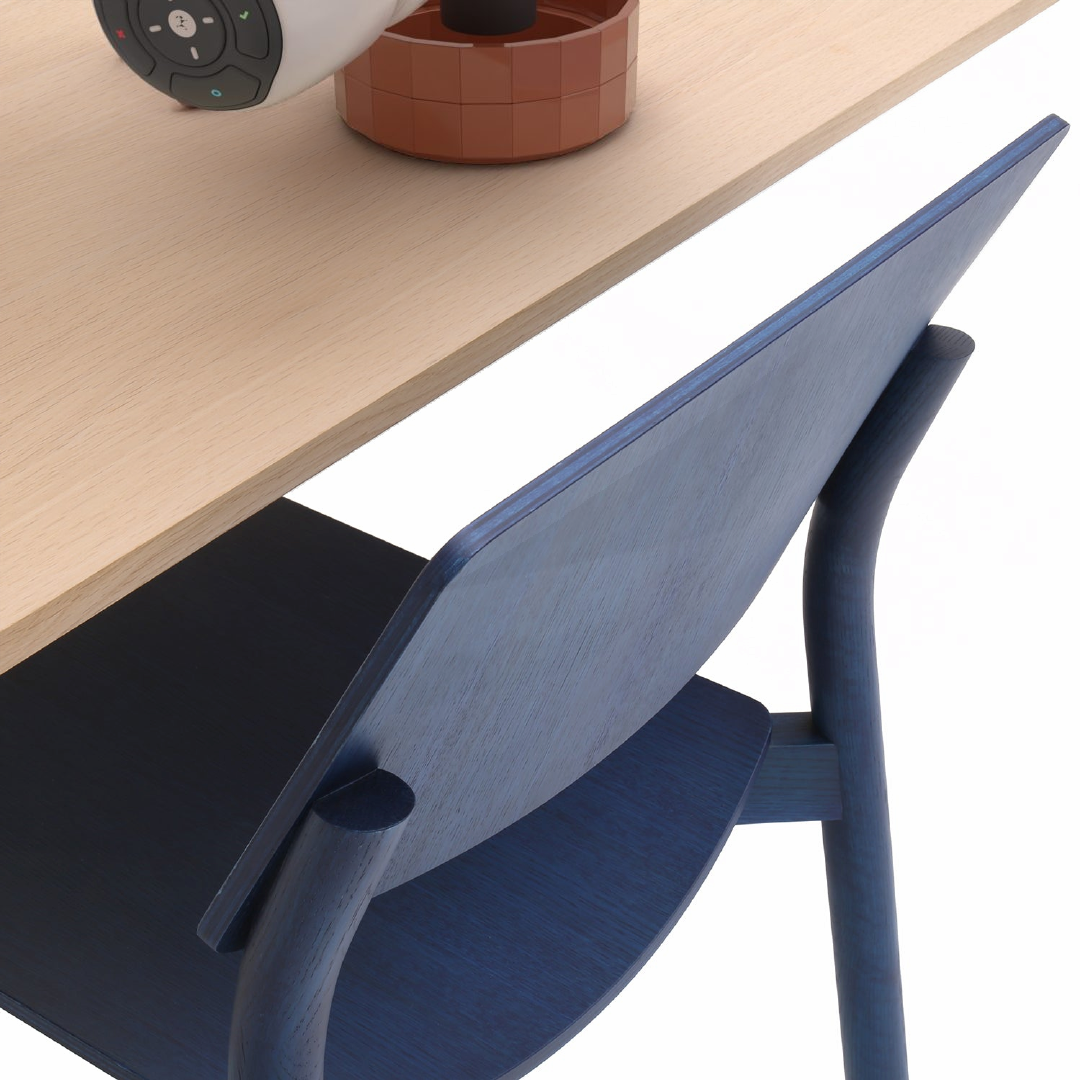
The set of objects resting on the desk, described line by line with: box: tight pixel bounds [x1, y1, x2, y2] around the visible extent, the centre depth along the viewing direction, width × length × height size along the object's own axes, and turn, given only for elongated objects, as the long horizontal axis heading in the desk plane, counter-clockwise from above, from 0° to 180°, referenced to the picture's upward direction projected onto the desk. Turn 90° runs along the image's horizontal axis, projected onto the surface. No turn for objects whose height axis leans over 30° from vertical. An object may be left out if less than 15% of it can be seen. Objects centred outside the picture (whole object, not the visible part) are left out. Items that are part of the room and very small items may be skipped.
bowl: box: [333, 0, 641, 165], centre depth 85 cm, size 15×15×6 cm
